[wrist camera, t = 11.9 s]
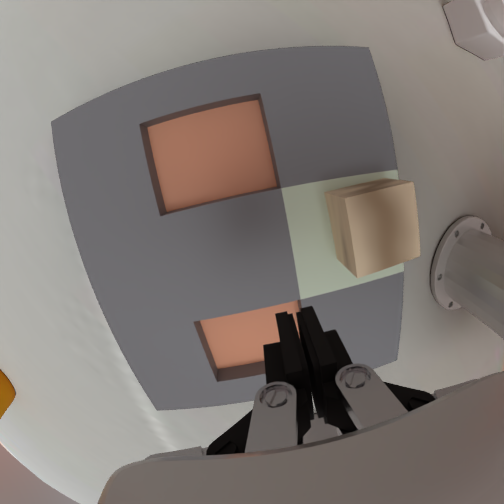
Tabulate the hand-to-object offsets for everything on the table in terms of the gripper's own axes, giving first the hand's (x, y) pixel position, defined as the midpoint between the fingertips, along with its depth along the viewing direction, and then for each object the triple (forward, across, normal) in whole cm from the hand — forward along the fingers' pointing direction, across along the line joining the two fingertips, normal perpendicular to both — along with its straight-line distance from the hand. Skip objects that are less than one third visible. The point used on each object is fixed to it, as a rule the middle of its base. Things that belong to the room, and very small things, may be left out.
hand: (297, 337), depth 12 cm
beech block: (+12, -8, -2) cm, 15 cm away
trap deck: (+14, +2, 0) cm, 14 cm away
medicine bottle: (+15, -34, -24) cm, 44 cm away
